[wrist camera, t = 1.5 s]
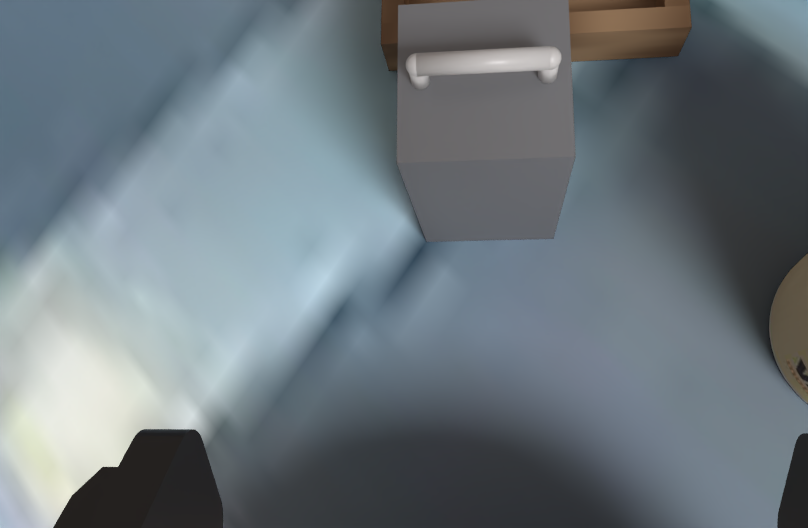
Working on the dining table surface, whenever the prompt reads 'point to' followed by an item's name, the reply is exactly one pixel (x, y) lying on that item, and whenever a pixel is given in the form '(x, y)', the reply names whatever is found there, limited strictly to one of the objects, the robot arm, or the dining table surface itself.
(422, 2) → the tray
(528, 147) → the grey rectangular block
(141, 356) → the dining table surface
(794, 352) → the coffee cup
